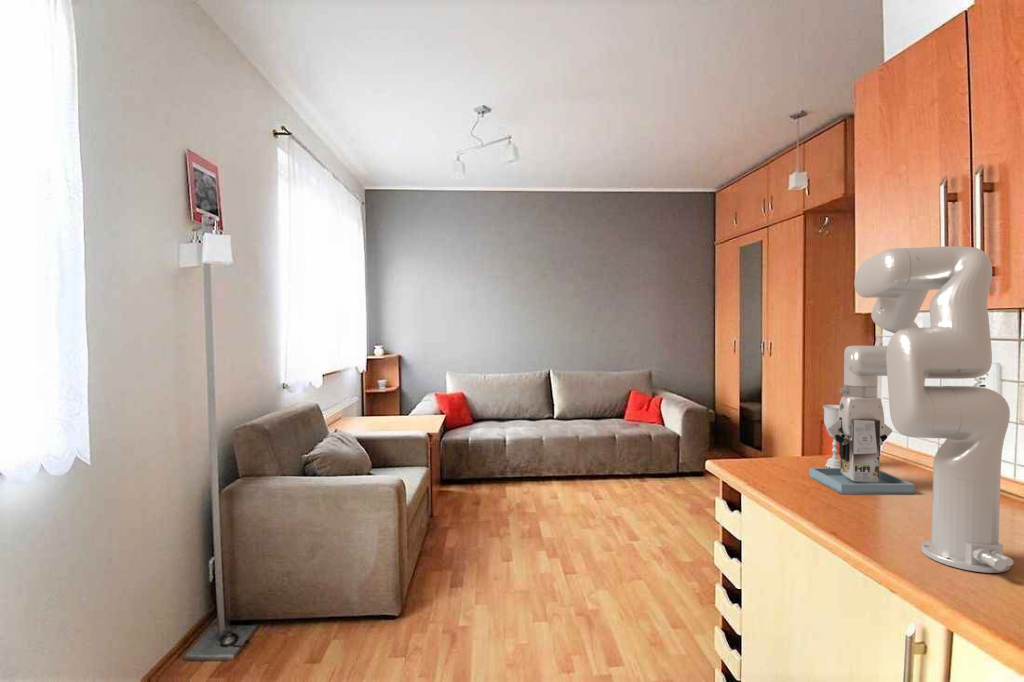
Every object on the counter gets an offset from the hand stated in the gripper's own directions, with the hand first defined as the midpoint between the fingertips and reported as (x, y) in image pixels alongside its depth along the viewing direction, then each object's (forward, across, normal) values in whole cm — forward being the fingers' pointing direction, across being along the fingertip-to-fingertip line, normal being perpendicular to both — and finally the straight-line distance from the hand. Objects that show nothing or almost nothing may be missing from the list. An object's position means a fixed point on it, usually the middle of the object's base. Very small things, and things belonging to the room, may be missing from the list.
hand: (859, 458), depth 147 cm
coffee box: (+5, 0, 0) cm, 5 cm away
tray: (+7, 0, 0) cm, 7 cm away
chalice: (+7, +4, +19) cm, 21 cm away
